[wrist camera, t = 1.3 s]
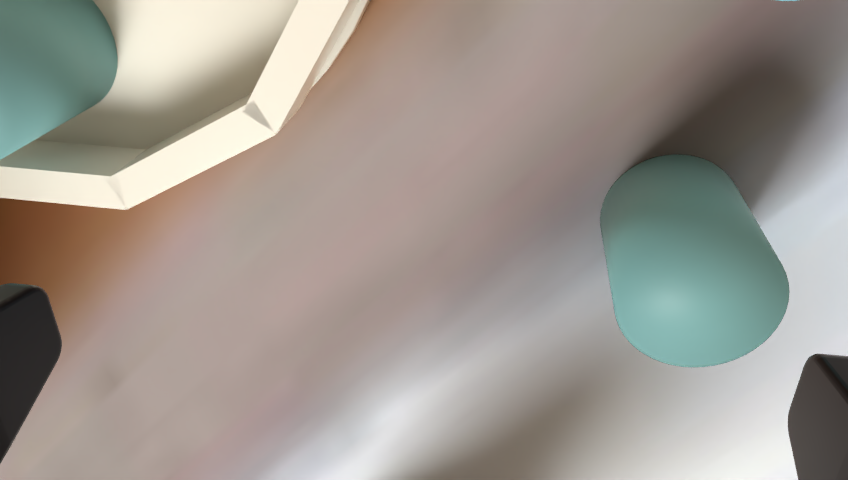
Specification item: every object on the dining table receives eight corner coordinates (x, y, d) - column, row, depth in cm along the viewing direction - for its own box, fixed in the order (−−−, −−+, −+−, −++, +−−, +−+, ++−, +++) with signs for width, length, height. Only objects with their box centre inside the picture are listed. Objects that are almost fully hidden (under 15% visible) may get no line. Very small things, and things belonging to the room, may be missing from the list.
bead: (723, 280, 22) (763, 375, 18) (591, 268, 22) (602, 357, 18) (757, 160, 20) (811, 237, 16) (611, 148, 20) (629, 220, 16)
